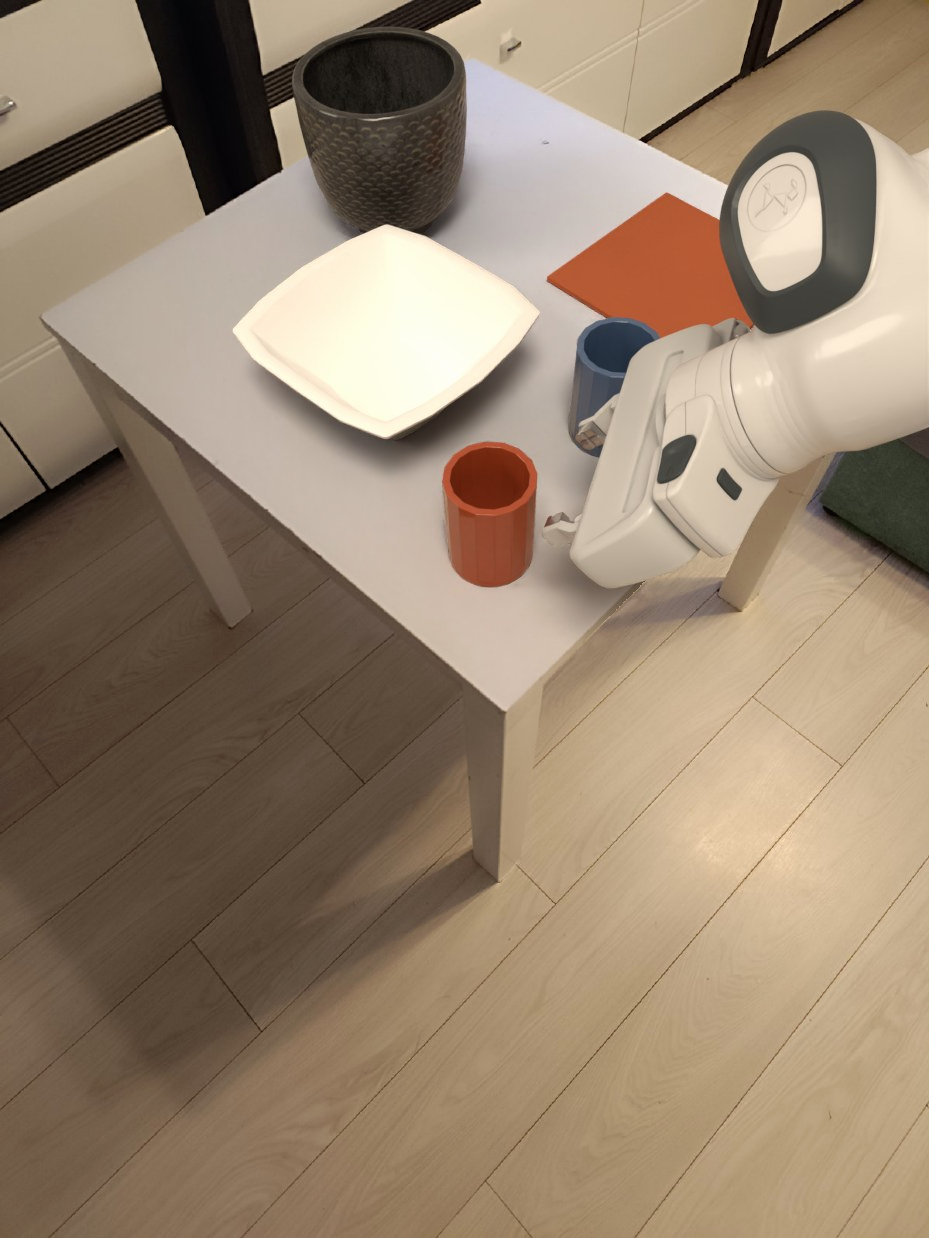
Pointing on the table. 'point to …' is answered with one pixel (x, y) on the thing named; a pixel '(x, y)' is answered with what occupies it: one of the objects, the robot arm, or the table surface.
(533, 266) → the table surface
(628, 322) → the blue cup
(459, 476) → the rust cup
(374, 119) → the planter
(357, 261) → the bowl
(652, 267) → the rust mat
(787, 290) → the robot arm
